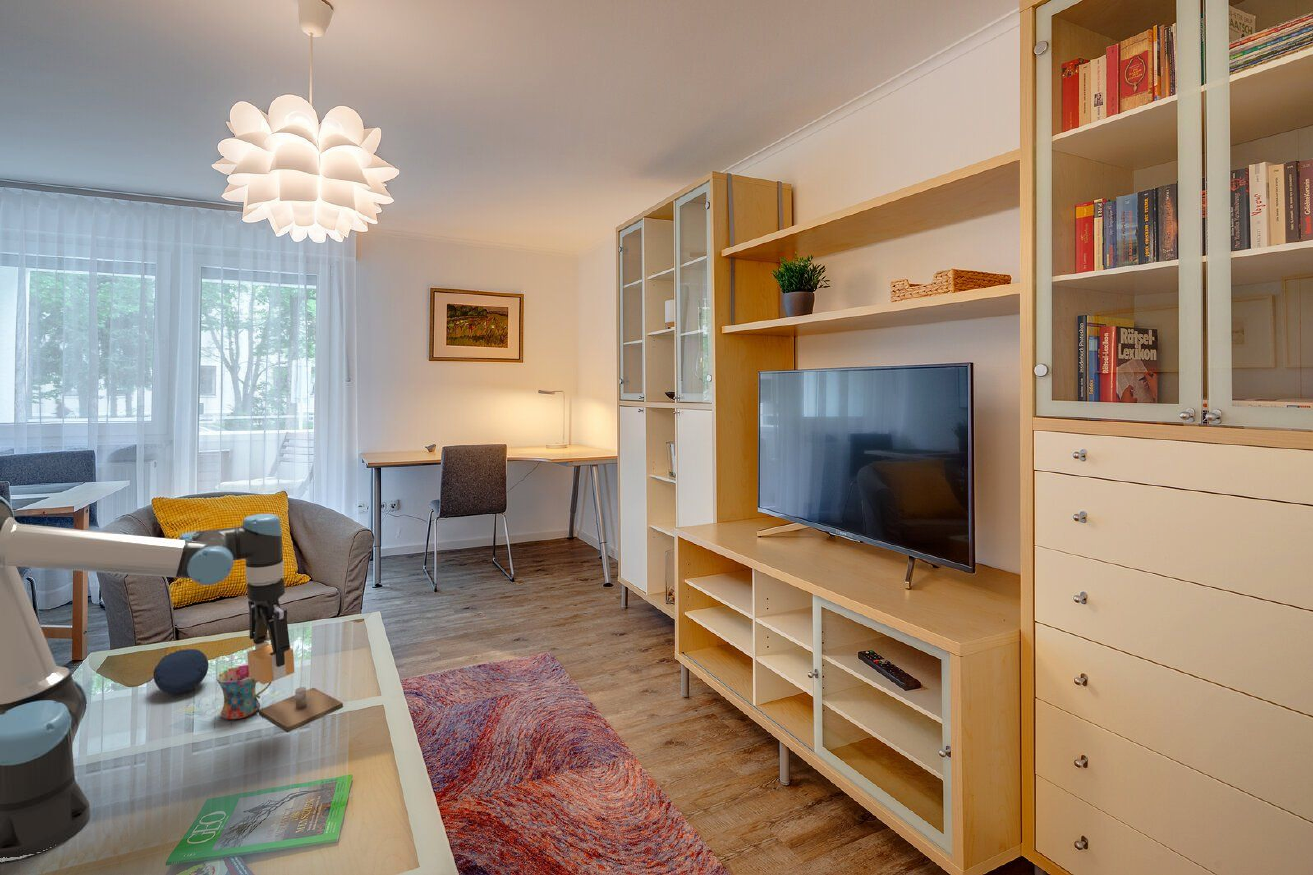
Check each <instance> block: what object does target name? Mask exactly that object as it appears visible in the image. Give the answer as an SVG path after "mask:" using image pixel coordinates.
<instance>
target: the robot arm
mask: <svg viewBox="0 0 1313 875" xmlns="http://www.w3.org/2000/svg"><path fill="white" fill-rule="evenodd" d="M281 523H282V522H281V519H280V517H279V516H278V515H277V514H273V513H258V514H252V515H249V516H246V517H244V518H243V520H242V524H241V525H240V526H236V527H235V526H234V527H226V528H225V527H224V528H217V529H216V528H215V529H207V530H196V531H191V532H185V533H182V534H181V535H180V536H179V538H178V539H177V538H176V539H175V538H168V537H156V536H147V535H137V534H126V533H116V532H106V531H96V530H86V529H76V528H68V527H67V528H65V527H57V526H46V525H39V524H38V525H35V524H27V523H26V524H25V523H19V522H17V520H15V513H14V510H13V507H12V506H11V504H10V503H9V501H8V500H6V499H5V498H4V497H2V496H1V495H0V858H3V857H5V858H6V857H7V858H10V857H20V856H23V855H29V854H36V853H37V852H42V851H43V850H46V849H49V848H50V847H53V846H55V845H57V846H59V845H60V844H59V843H61V842H62V843H64V842H65V841H68V840H70V838H72V837H73V836H75V835H76V834H77V833H78V832H80V831H81V830H82V829H83V828H84V827H85V826H86V825H87V823H88V822H89V820H90V817H91V808H90V801H89V800H88V797H86V795H85V794H84V792H83V790H82V789H81V787H80V785H79V784H78V783H77V781H76V778H75V764H74V754H73V746H74V741H75V738H76V734H77V733H78V730H79V727H80V724H81V721H82V720H83V718H84V716H85V713H86V710H87V704H88V700H87V695H86V693H87V692H86V690H85V689H84V687H83V686H82V685H81V683H79V682H78V681H76V680H75V679H73V677H72V673H71V671H70V669H69V668H67V667H65V666H59V665H57V663H56V662H55V659H54V656H53V654H52V651H51V649H50V647H49V645H48V642H47V640H46V639H47V638H46V636H45V634H44V631H43V629H42V627H41V625H40V623H39V619H38V617H37V615H36V612H35V610H34V607H33V604H32V602H31V599H30V597H29V595H28V592H27V589H26V587H25V584H24V583H23V580H22V577H21V575H20V573H19V570H18V568H19V567H21V568H30V569H31V568H33V569H49V570H63V571H75V572H77V571H78V572H90V573H91V572H92V573H93V572H94V573H103V574H105V573H106V574H120V575H134V576H135V575H136V576H150V577H151V576H152V577H162V578H163V577H166V578H180V579H190V580H192V581H194V582H195V583H196V584H199V585H201V586H212V585H216V584H218V583H221V582H223V581H224V580H226V578H228V576H229V575H230V574H231V572H232V570H233V567H234V561H240V560H244V561H245V565H244V566H245V567H244V569H245V581H246V582H247V584H246V591H247V594H246V596H247V599H248V602H247V604H248V610H249V611H248V612H249V621H248V622H249V630H248V631H249V634H248V636H249V639H250V640H252V641H253V644H254V648H255V649H258V648H261V647H264V646H267V645H270V644H271V645H272V649H273V652H272V653H270V655H271V662H272V679H273V680H274V681H277V680H279V679H282V678H286V677H287V676H286V665H285V651H288V650H290V648H291V642H290V636H289V635H290V634H289V627H288V610H287V608H283V609H282V608H281V605H280V601H279V599H280V598H281V597H282V596H284V595H285V593H286V587H285V586H286V585H285V579H284V577H285V575H284V572H285V570H284V566H285V565H286V563H285V562H284V554H283V552H284V551H283V550H284V549H283V532H282V524H281ZM17 567H18V568H17ZM268 635H269V636H268ZM269 640H270V643H269ZM255 649H254V650H255ZM274 681H273V682H274ZM62 843H61V844H62ZM58 844H59V845H58ZM55 847H56V846H55ZM53 848H54V847H53ZM49 850H50V849H49ZM46 851H47V850H46ZM42 853H43V852H42ZM36 855H37V854H36Z"/></svg>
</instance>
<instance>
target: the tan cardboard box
mask: <svg viewBox="0 0 1313 875" xmlns="http://www.w3.org/2000/svg"><path fill="white" fill-rule="evenodd" d="M272 652H273V649H272V645H271V643H269V645H267V646H264V647H261V648H258V649H252V650H249V651H248V652H247V655H246V656H247V665H248V668H249V676H250V677H251V678H253V679H255V680H256V681H258V683H260V684H261V685H266V684H269V682H271V683H272V682H274V680H273V679H272V662H271V655H270V653H272ZM294 658H295V657H294V648H292V647H290V650H288V651H285V665H286V676H285V677H287V676H289V675H292V674H294V673H295V661H294Z"/></svg>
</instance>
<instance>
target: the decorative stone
mask: <svg viewBox="0 0 1313 875" xmlns="http://www.w3.org/2000/svg"><path fill="white" fill-rule="evenodd" d="M208 671H209V660H208V658H207V656H206V655H205V653H204V652H202V651H201V650H199V649H196V648H194V649H193V648H191V649H190V648H186V649H180V650H179V649H178V650H176V651H174V652H171V653H169V654H167V655H165V656H163V657H162V658H161V659H160V660H159V662H158V663H157V665H156V666H155V668H154V669H153V680H154V684H155V686H157V688H158V689H159V690H160V691H162V692H163V693H166V694H168V695H180V694H183V693H187V692H189V691H191V690H194V689H195V688H196V687H197V686H199V685H200V684H201V683H202V682H203V680H204V679H205V677H206V676H207V673H208Z"/></svg>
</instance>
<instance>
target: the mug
mask: <svg viewBox="0 0 1313 875" xmlns="http://www.w3.org/2000/svg"><path fill="white" fill-rule="evenodd" d="M216 681H217V683H218V684H219V686H220V688H221V690H222V695H223V706H222V709H221V711H220V716H221V718H223V719H226V720H239V719H243V718H245V717H248V716H251V715H252V714H254V713H255V712H257V711H259V710H260V707H261V702H260V701H259V700H258V699H260V698H261V696H260V695H261V694H262V693H264V692H265V691H266V690H267V689H268V688H269V686H271V683H272V682H269V683H267V685H266V686H265V687H264V688H263V689H262V690H260V691H259V692H257V693H256V688H257V687H256V684H258V683H259V682H258V681H256V680H255V679H253V678H251V677H250V676H249V668H248V664H245V665H243V664H242V665H239V666H233V667H231V668H227V669H226V670H225V669H224V670H223V671H222V672H220V673H219V674H218V675H217V676H216Z"/></svg>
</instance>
